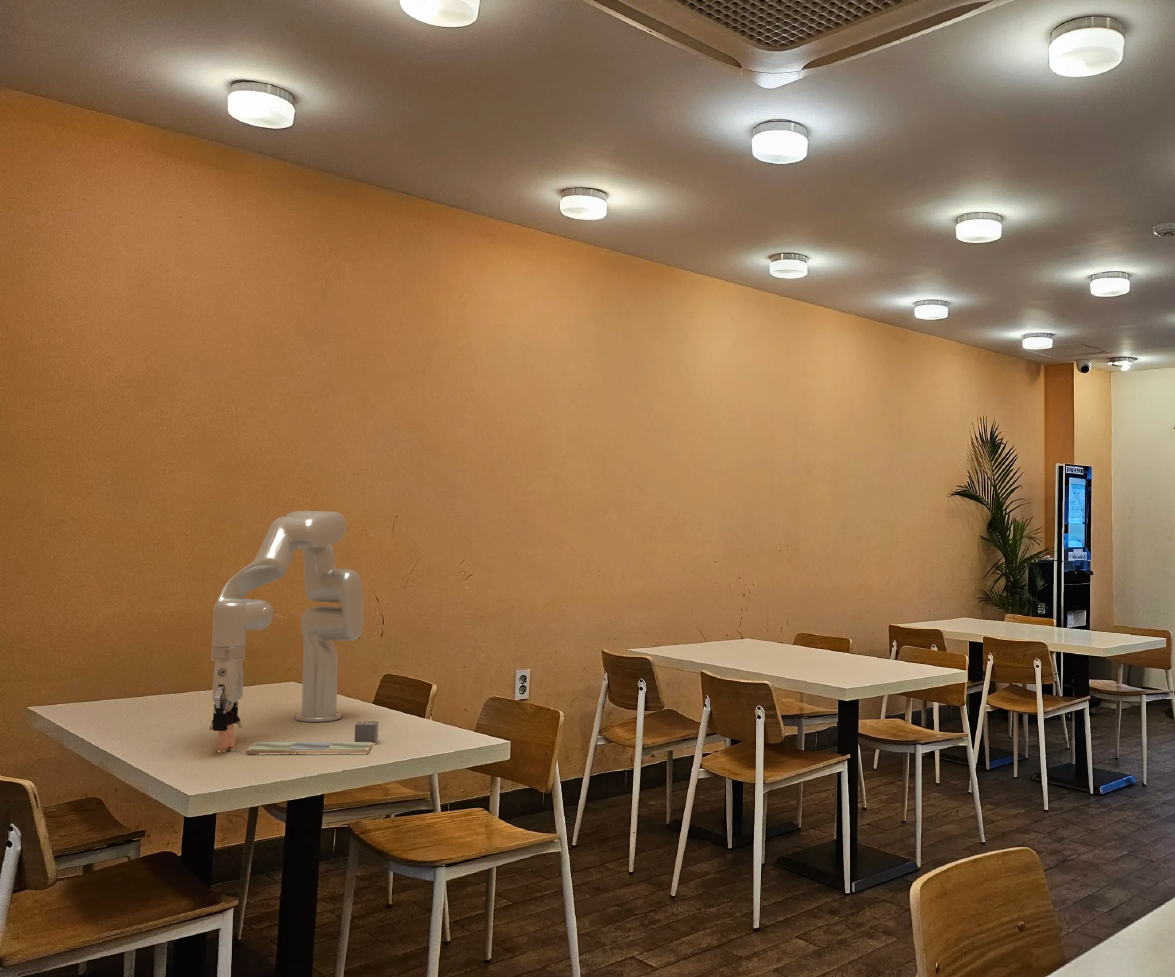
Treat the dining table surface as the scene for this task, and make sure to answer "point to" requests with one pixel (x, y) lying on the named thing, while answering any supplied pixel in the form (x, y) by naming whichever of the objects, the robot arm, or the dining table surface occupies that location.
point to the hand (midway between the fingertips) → (225, 726)
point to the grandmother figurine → (228, 731)
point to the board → (309, 747)
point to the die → (366, 731)
